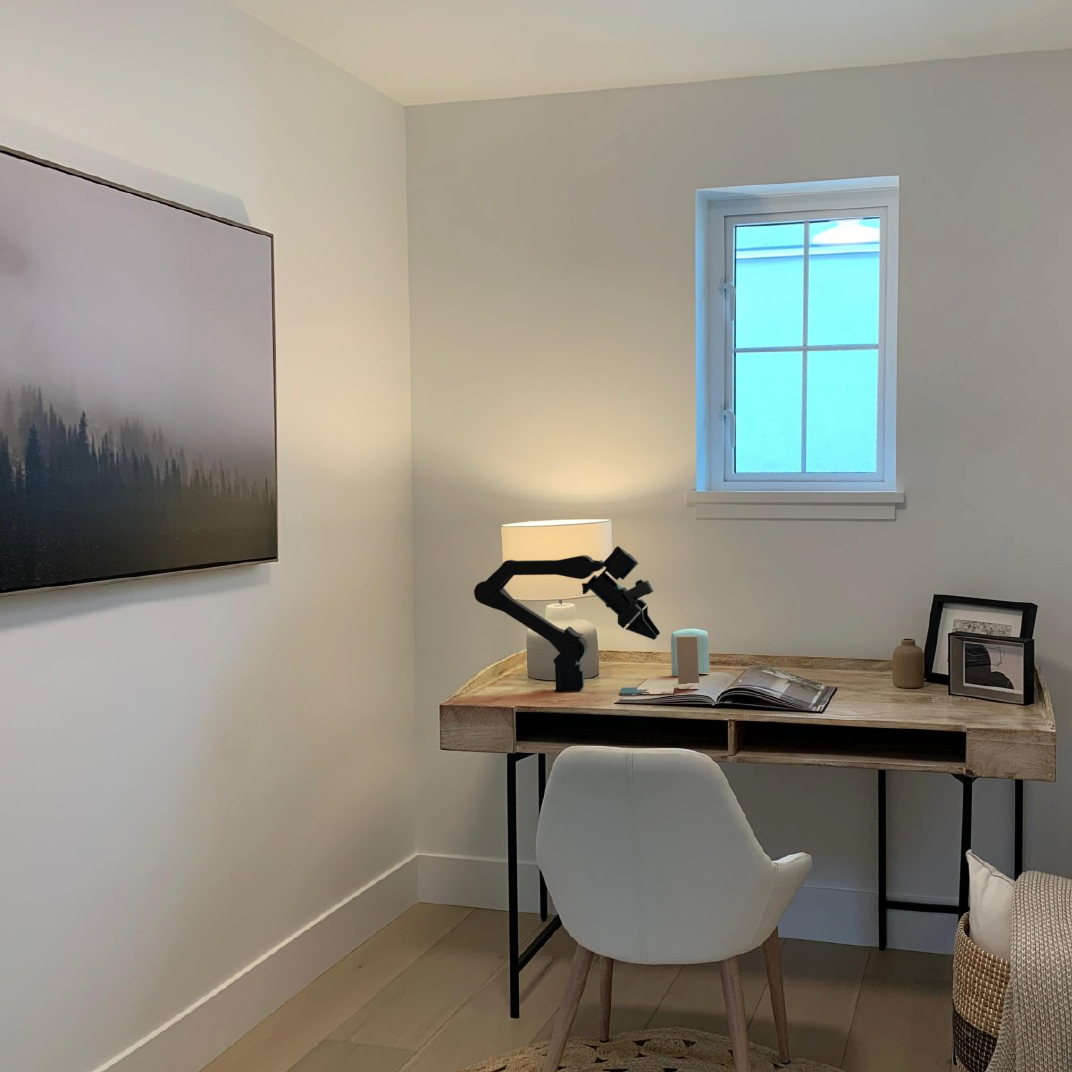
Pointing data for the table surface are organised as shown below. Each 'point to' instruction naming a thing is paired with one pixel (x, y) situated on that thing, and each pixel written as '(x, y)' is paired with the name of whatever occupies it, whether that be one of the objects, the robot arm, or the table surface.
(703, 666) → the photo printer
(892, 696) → the table surface
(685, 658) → the beige rectangular block
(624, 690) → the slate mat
